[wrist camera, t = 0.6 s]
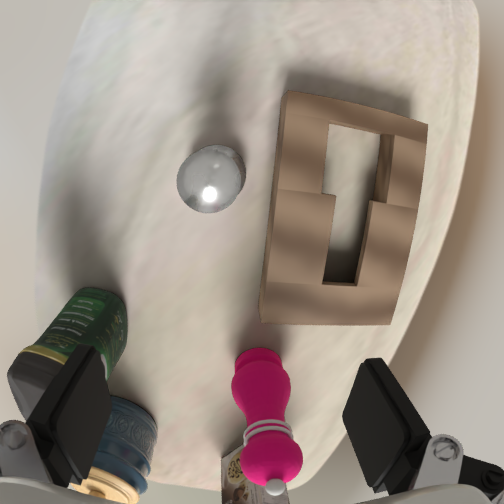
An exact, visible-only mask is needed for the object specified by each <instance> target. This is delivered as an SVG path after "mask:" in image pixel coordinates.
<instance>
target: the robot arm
mask: <svg viewBox="0 0 504 504" xmlns="http://www.w3.org/2000/svg"><path fill="white" fill-rule="evenodd" d="M111 411H112V401H111V398H110V394H109V390H108V386H107V382H106V378H105V373H104V369H103V364H102V360H101V355H100V352H99V351H98V350H96V348H95V346H93V345H88V344H82V343H79V344H78V345H77V346H76V348H75V349H74V351H73V352H72V353H71V355H70V356H69V358H68V359H67V361H66V362H65V364H64V365H63V367H62V368H61V370H60V371H59V373H58V374H57V375H56V376H55V377H54V378H53V379H52V381H51V382H50V384H49V386H48V387H47V389H46V390H45V392H44V393H43V395H42V397H41V398H40V400H39V401H38V403H37V405H36V406H35V408H34V409H33V411H32V413H31V414H30V416H29V418H28V419H27V421H26V423H24V422H22V421H18V420H9V421H6V422H3V423H2V424H1V425H0V504H126V503H121V502H117V501H112V500H108V499H104V498H100V497H96V496H92V495H88V494H85V493H81V492H78V491H74V490H71V489H68V488H67V487H68V485H69V483H73V484H76V485H80V486H81V484H82V481H83V479H84V480H86V479H87V478H88V475H89V472H90V469H91V467H92V464H93V461H94V458H95V455H96V452H97V449H98V446H99V444H100V441H101V438H102V435H103V433H104V430H105V427H106V425H107V422H108V419H109V417H110V414H111ZM342 418H343V422H344V425H345V427H346V430H347V433H348V435H349V438H350V440H351V442H352V445H353V448H354V451H355V453H356V456H357V458H358V461H359V463H360V466H361V469H362V471H363V474H364V477H365V480H366V482H367V485H368V486H369V487H372V488H373V491H374V493H379V492H382V491H386V490H387V491H388V494H389V496H387V497H383V498H379V499H374V500H370V501H365V502H360V503H356V504H504V470H503V469H501V468H500V467H499V466H497V465H494V464H490V463H487V462H484V461H481V460H477V459H474V458H471V457H468V456H465V455H463V447H462V445H461V443H460V442H459V441H458V440H457V439H456V438H454V437H452V436H450V435H446V434H440V435H436V436H434V437H432V436H431V435H430V431H429V429H428V428H427V426H426V425H425V423H424V421H423V420H422V418H421V417H420V415H419V414H418V412H417V411H416V409H415V407H414V406H413V404H412V403H411V401H410V400H409V398H408V397H407V395H406V393H405V392H404V390H403V389H402V387H401V386H400V384H399V383H398V382H397V380H396V378H395V377H394V375H393V374H392V372H391V371H390V369H389V368H388V366H387V365H386V363H385V362H384V360H383V359H382V358H369V359H366V360H365V361H364V363H361V364H360V367H359V370H358V373H357V375H356V378H355V381H354V384H353V387H352V390H351V392H350V395H349V398H348V400H347V403H346V406H345V408H344V411H343V415H342Z"/></svg>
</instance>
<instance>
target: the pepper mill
mask: <svg viewBox="0 0 504 504" xmlns="http://www.w3.org/2000/svg"><path fill="white" fill-rule="evenodd" d="M231 388H232V394H233V398H234V400H235V402H236V404H237V405H238V407H239V408H240V409H241V410H242V411H243V413H244V414H245V416H246V420H247V429H246V430H245V431H244V434H243V438H244V446H245V447H244V448H243V450H242V452H241V454H240V466H241V469H242V472H243V474H244V475H245V476H246V477H247V478H248V479H249V480H250V481H251V482H253V483H255V484H258V485H262V486H265V489H266V491H267V493H269V494H270V495H274V496H276V495H280V494H282V493H283V492H284V490H285V484H284V483H287V482H289V481H291V480H292V479H293V478H295V477H296V476H297V474H298V473H299V472H300V470H301V467H302V464H303V455H302V451H301V449H300V447H299V445H298V444H297V443H296V442H295V441H293V435H292V429H291V427H290V426H289V425H288V424H287V423H285V419H284V412H285V409H286V406H287V403H288V400H289V397H290V391H291V385H290V378H289V376H288V374H287V372H286V371H285V370H284V369H283V367H282V363H281V359H280V357H279V356H278V355H277V354H276V353H275V352H274V351H272V350H269V349H267V348H253V349H250V350H247V351H245V352H244V353H242V354H241V355H240V356H239V357H238V358H237V360H236V362H235V375H234V377H233V379H232V383H231Z"/></svg>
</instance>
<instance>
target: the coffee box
mask: <svg viewBox="0 0 504 504" xmlns="http://www.w3.org/2000/svg"><path fill="white" fill-rule="evenodd" d="M244 447H245V446H244V444H243V445H241V446H240V447H238V448H237V449H236V450H234V451H233V452H231V453H230V454H228V455H227V456H225V457H224V458H222V459H221V483H222V504H290V503H289V498H288V493H287V487H286V483H284V484H285V490H284V492H283V493H282V494H280V495H276V496H274V495H270V494H269V493H267V491H266V489H265V486H262V485H258V484H255V483H253V482H251V481H250V480H249V479H248V478H247V477H246V476H245V475H244V474H243V472H242V469H241V466H240V454H241V452H242V450H243V448H244Z"/></svg>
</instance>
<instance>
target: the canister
mask: <svg viewBox="0 0 504 504" xmlns="http://www.w3.org/2000/svg"><path fill="white" fill-rule="evenodd" d="M110 398H111V401H112V411H111V414H110V417H109V419H108V422H107V425H106V427H105V430H104V433H103V435H102V438H101V441H100V444H99V446H98V449H97V452H96V455H95V458H94V461H93V464H92V467H91V469H90V472H89V475H88V478H87V479H86V480H84V479H83V481H82V484H81V486H80V485H76V484H73V483H71V485H72V486H73V487H74V488H75V489H76V490H77V491H78V492H81V493H85V494H88V495H92V496H96V497H100V498H104V499H108V500H112V501H117V502H121V503H126V504H135V503H137V502H138V501H139V495H141V494H143V493H145V492H146V490H147V488H148V484H147V481H146V477H147V476H148V475H149V474H150V471H151V466H150V465H151V460H152V455H153V450H154V447H155V445H156V441H157V427H156V424H155V422H154V420H153V419H152V417H151V416H150V415H149V414H148V413H147V412H146V411H145V410H143V409H142V408H140V407H139V406H137V405H136V404H134V403H132V402H130V401H128V400H125V399H122V398H119V397H114V396H110Z"/></svg>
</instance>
